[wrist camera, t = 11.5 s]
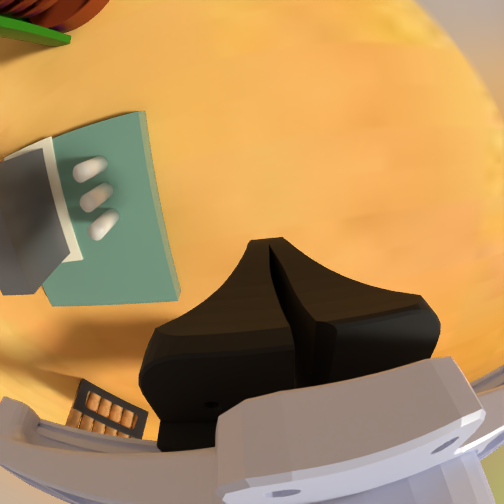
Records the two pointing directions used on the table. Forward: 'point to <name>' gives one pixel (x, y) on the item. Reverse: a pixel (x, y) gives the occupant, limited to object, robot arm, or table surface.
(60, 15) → the green and brown cylinder
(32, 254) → the block
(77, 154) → the header board
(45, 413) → the table surface
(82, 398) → the ammunition clip
